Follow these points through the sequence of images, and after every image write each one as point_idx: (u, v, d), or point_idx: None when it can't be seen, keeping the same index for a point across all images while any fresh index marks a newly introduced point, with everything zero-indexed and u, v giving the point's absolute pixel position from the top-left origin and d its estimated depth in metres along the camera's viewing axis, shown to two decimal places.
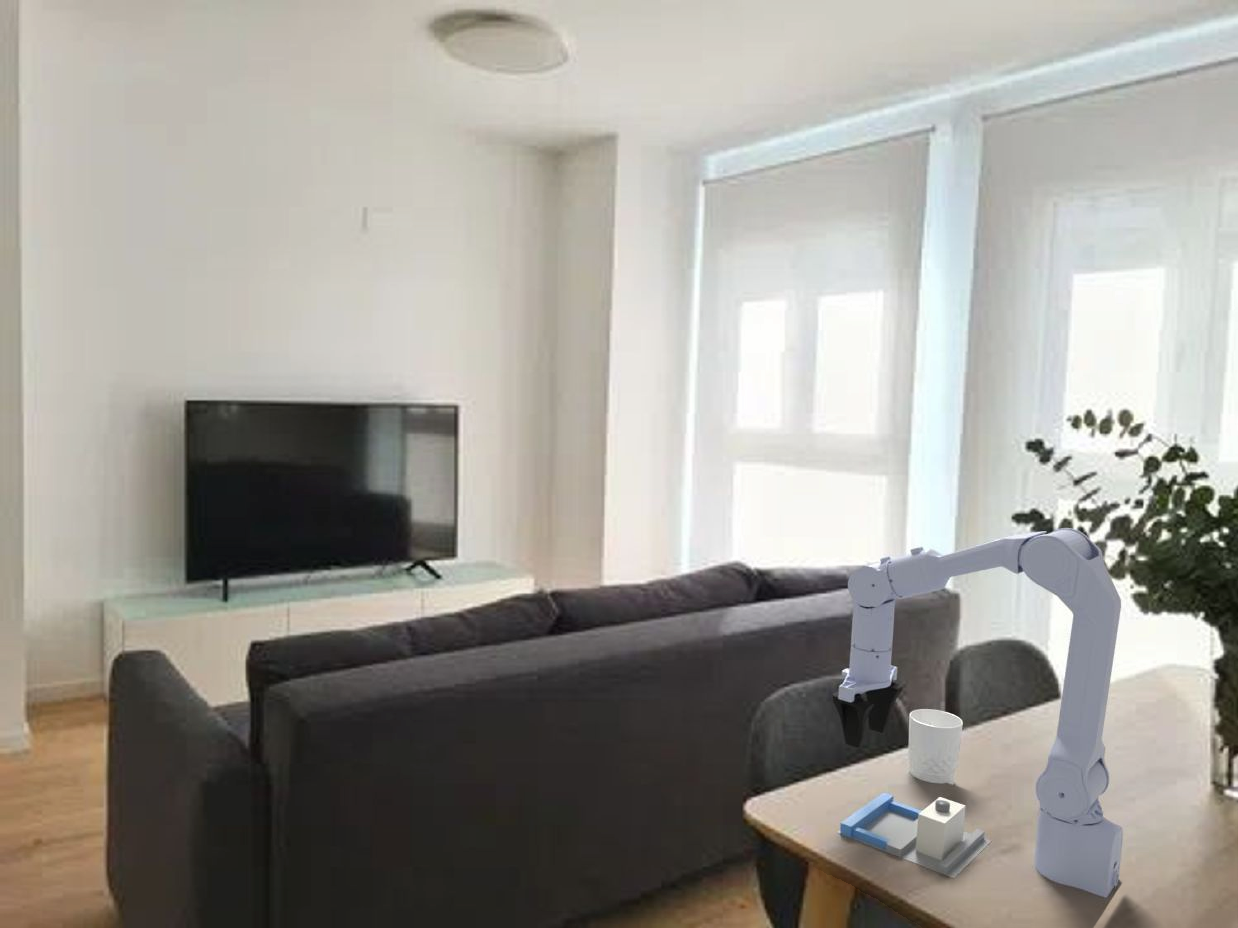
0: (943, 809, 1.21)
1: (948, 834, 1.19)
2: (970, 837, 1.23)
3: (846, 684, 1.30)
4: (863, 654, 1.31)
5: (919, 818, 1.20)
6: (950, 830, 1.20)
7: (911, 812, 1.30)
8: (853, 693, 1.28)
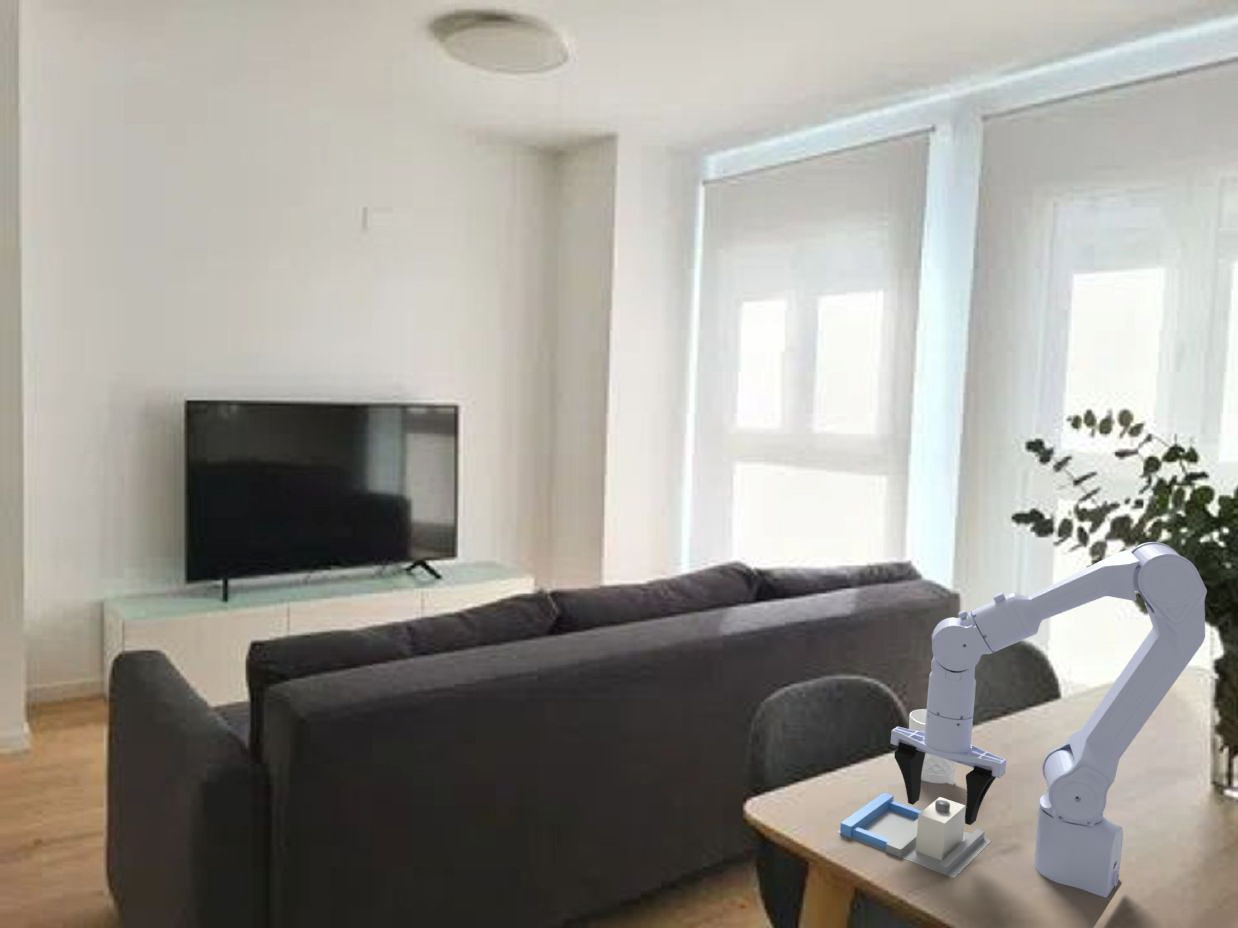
0: (943, 809, 1.21)
1: (948, 834, 1.19)
2: (970, 837, 1.23)
3: None
4: None
5: (919, 818, 1.20)
6: (950, 830, 1.20)
7: (911, 812, 1.30)
8: (894, 736, 1.24)
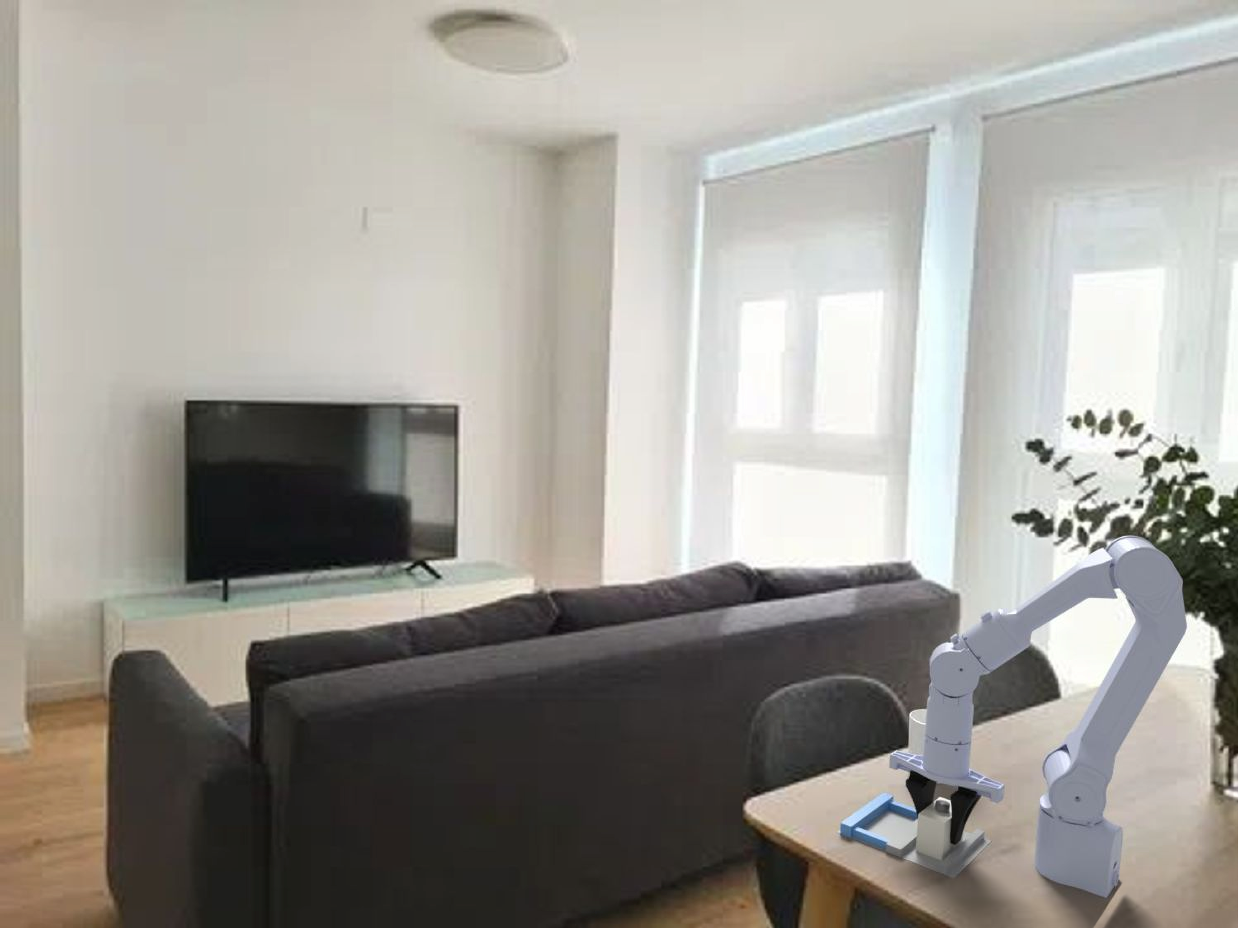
0: (943, 809, 1.21)
1: (948, 834, 1.19)
2: (970, 837, 1.23)
3: None
4: None
5: (919, 818, 1.20)
6: (950, 830, 1.20)
7: (911, 812, 1.30)
8: (893, 760, 1.25)
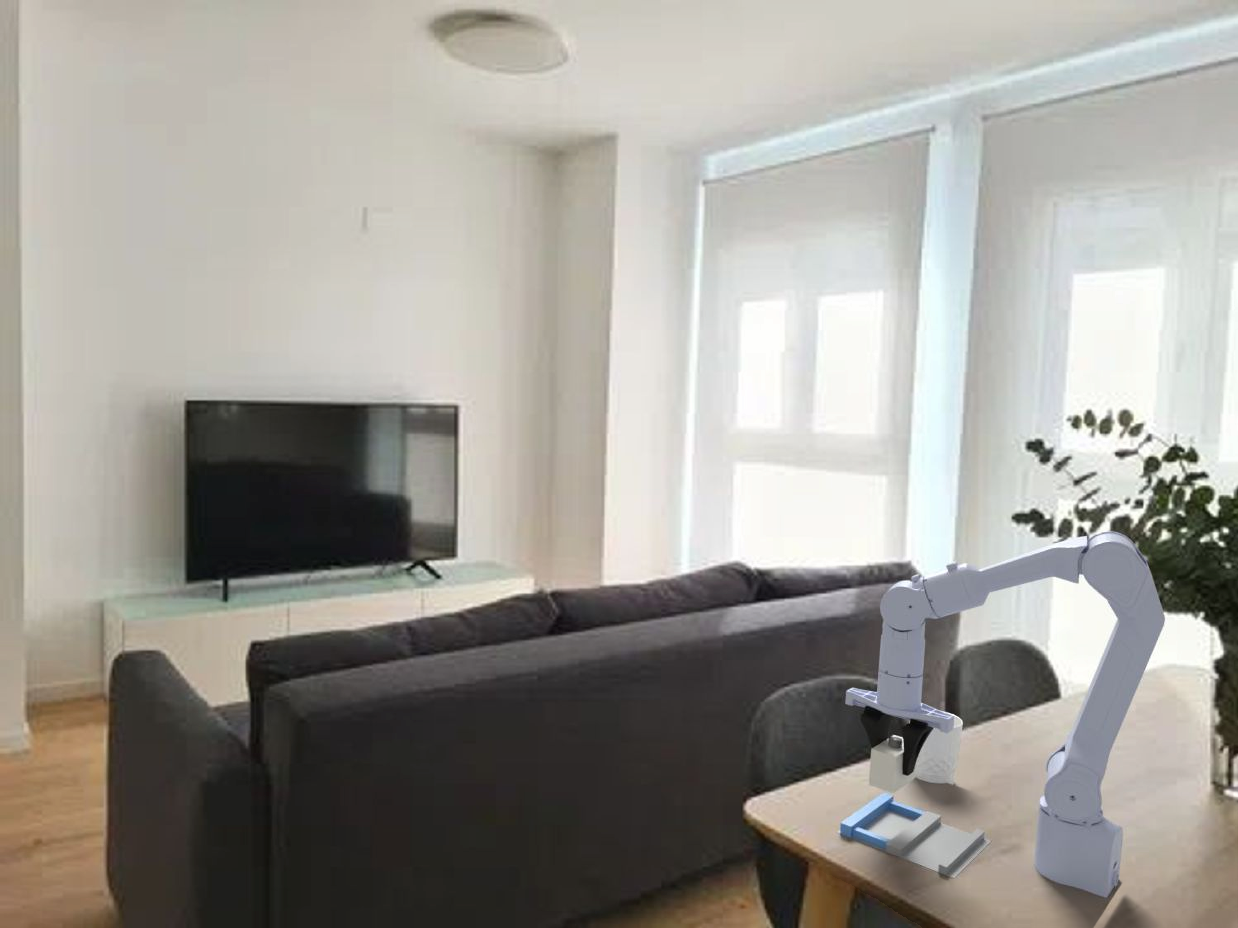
0: (895, 744, 1.24)
1: (900, 768, 1.23)
2: (970, 837, 1.23)
3: None
4: None
5: (872, 753, 1.24)
6: None
7: (911, 812, 1.30)
8: (849, 696, 1.29)
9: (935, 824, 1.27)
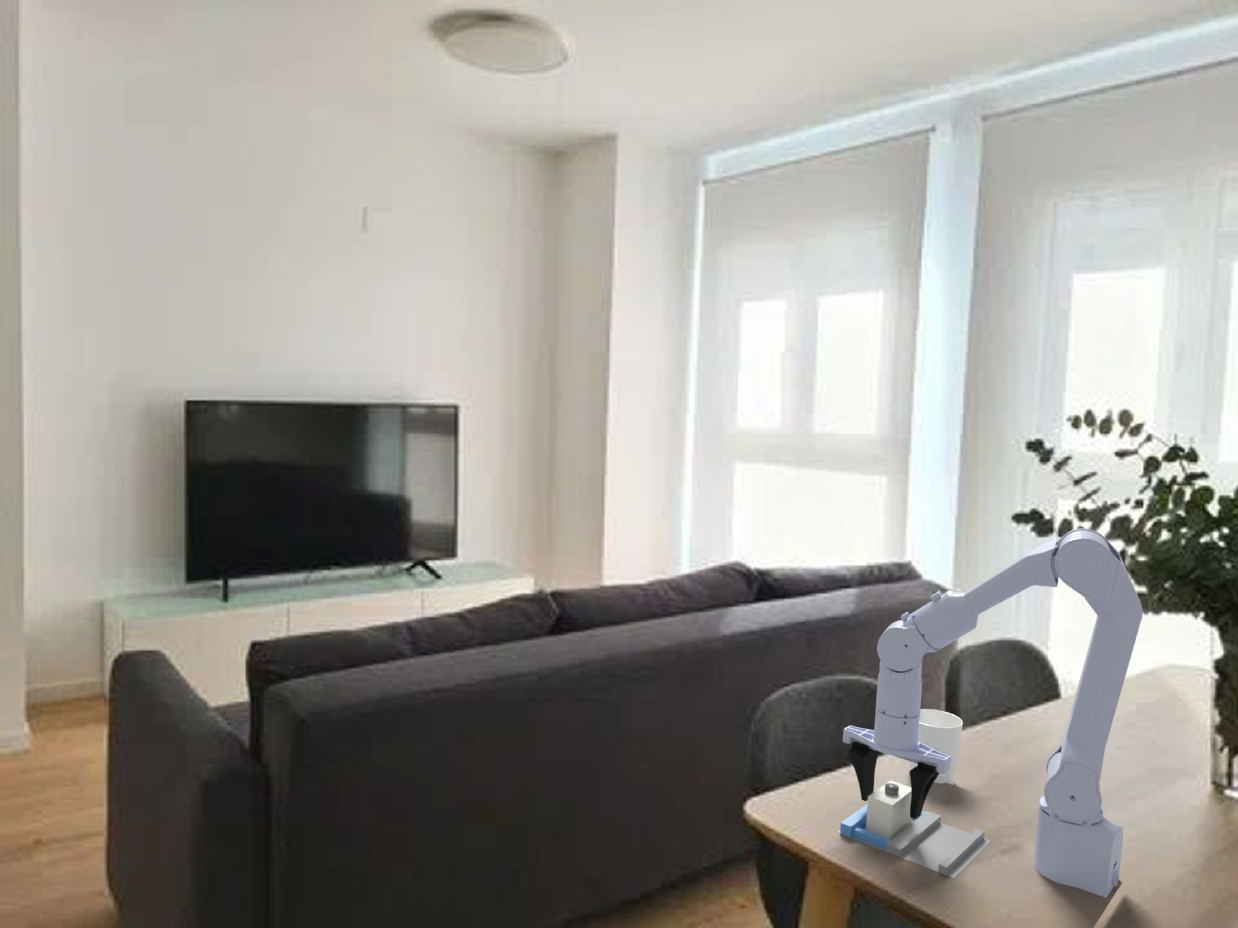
0: (892, 792, 1.25)
1: (897, 816, 1.24)
2: (970, 837, 1.23)
3: (865, 732, 1.29)
4: None
5: (869, 800, 1.24)
6: (898, 812, 1.24)
7: None
8: (846, 734, 1.29)
9: (935, 824, 1.27)
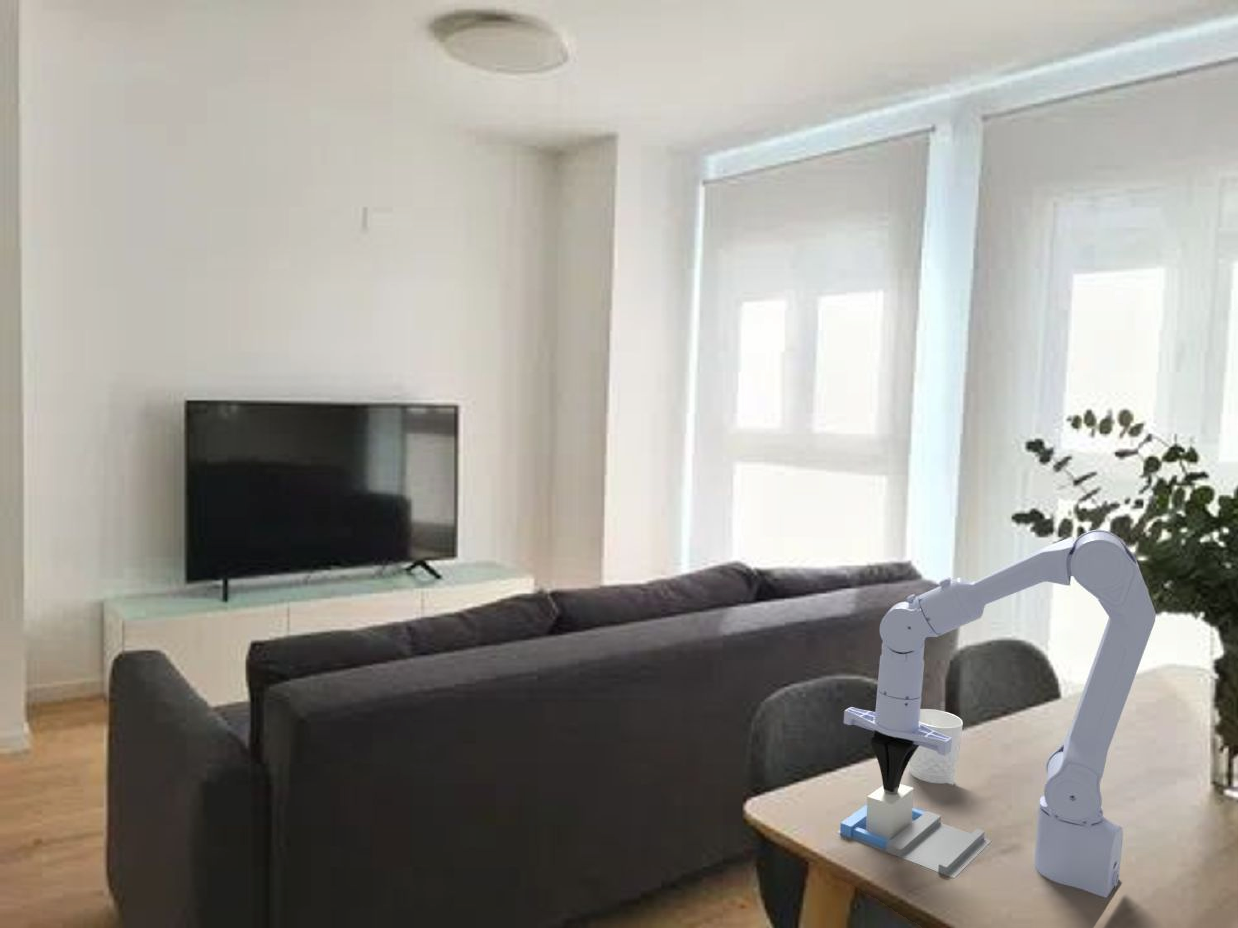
0: None
1: (896, 816, 1.24)
2: (970, 837, 1.23)
3: None
4: None
5: (868, 800, 1.24)
6: (898, 812, 1.24)
7: None
8: (847, 716, 1.29)
9: (935, 824, 1.27)
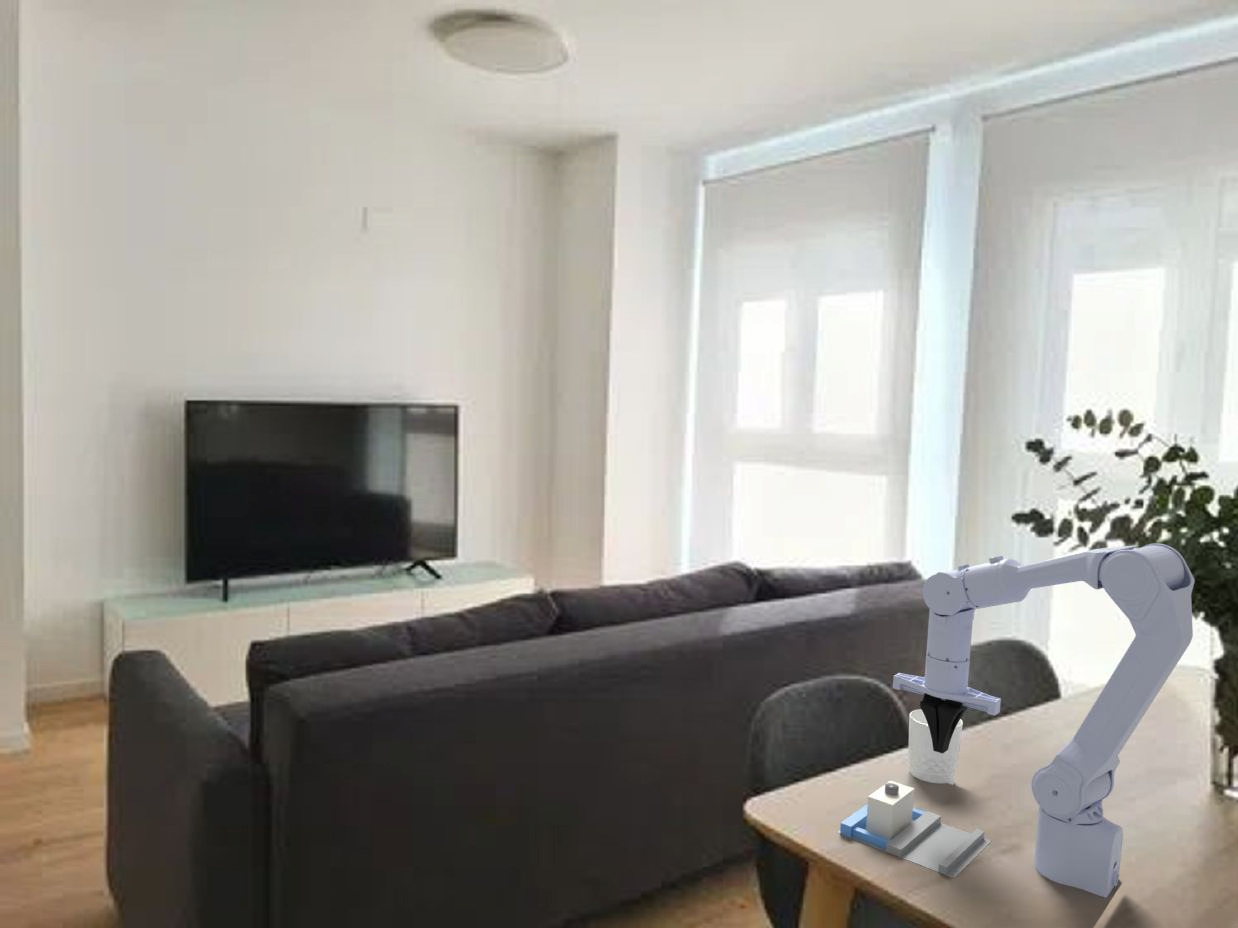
0: (892, 792, 1.25)
1: (897, 816, 1.24)
2: (970, 837, 1.23)
3: None
4: None
5: (869, 800, 1.24)
6: (898, 812, 1.24)
7: None
8: (896, 681, 1.33)
9: (935, 824, 1.27)
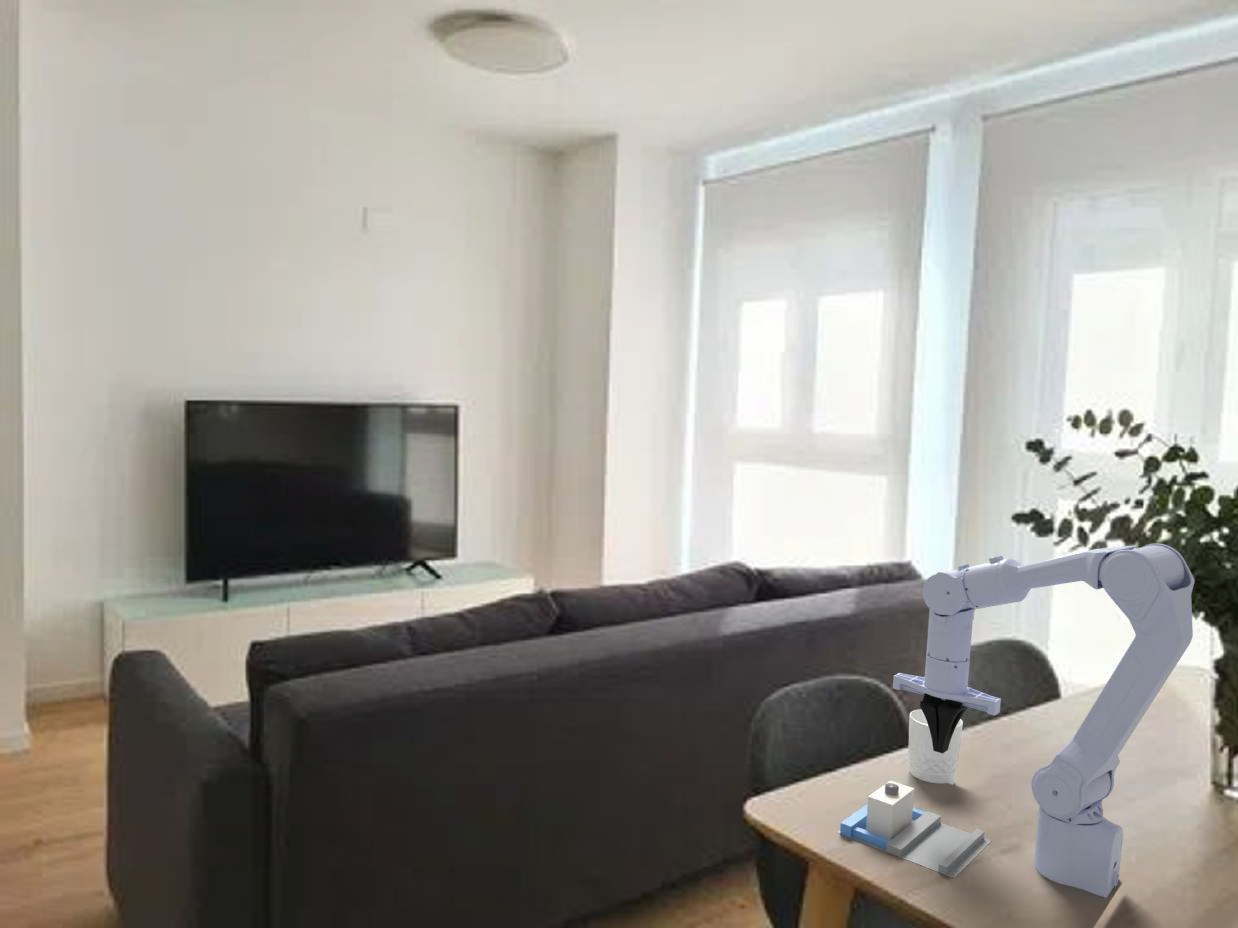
0: (892, 792, 1.25)
1: (897, 816, 1.24)
2: (970, 837, 1.23)
3: None
4: None
5: (869, 800, 1.24)
6: (898, 812, 1.24)
7: None
8: (896, 681, 1.33)
9: (935, 824, 1.27)
